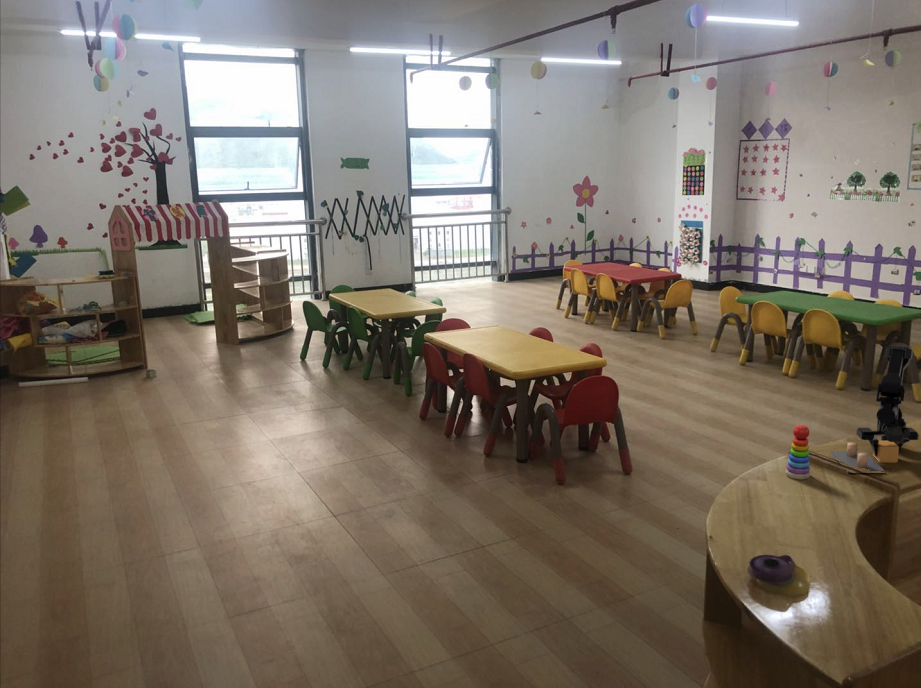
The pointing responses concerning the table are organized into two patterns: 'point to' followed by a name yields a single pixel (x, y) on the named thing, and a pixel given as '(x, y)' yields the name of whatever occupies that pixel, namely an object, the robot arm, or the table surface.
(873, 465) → the plate
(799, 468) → the stacking toy
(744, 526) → the table surface
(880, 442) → the natural wood cube
